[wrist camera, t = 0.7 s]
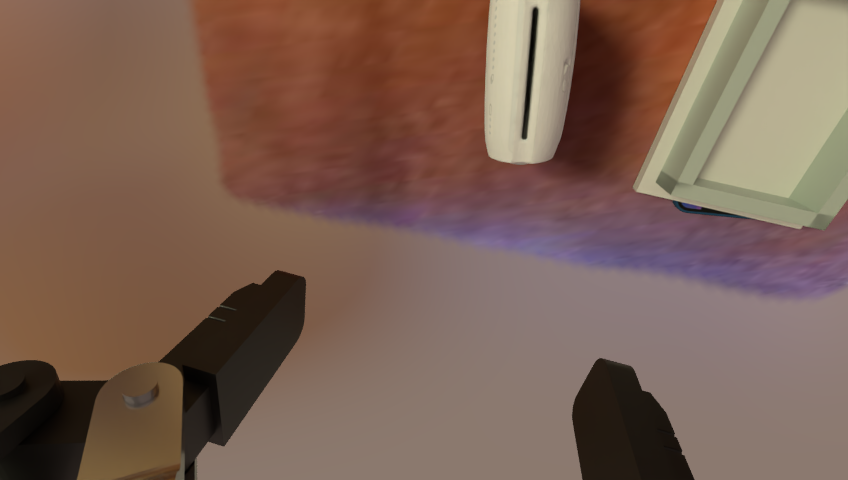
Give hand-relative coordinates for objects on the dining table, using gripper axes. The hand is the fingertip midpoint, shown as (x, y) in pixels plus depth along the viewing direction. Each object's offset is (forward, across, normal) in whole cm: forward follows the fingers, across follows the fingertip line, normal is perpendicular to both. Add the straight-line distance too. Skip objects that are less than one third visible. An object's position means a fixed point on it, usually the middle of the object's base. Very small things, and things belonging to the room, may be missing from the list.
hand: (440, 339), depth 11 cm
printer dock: (+24, -18, -7) cm, 31 cm away
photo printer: (+24, -1, -6) cm, 25 cm away
